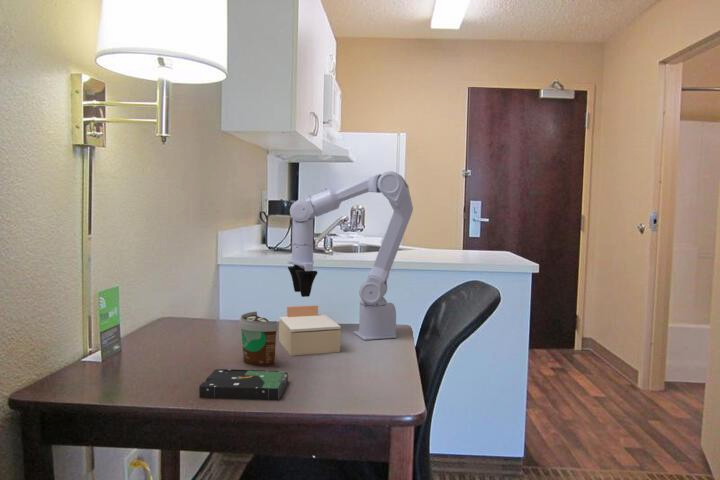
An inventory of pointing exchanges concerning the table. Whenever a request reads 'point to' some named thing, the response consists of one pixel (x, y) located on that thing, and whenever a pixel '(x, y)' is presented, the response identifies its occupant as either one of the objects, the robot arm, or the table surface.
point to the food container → (258, 339)
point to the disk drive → (244, 384)
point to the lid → (307, 319)
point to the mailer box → (309, 341)
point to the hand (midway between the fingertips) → (301, 294)
